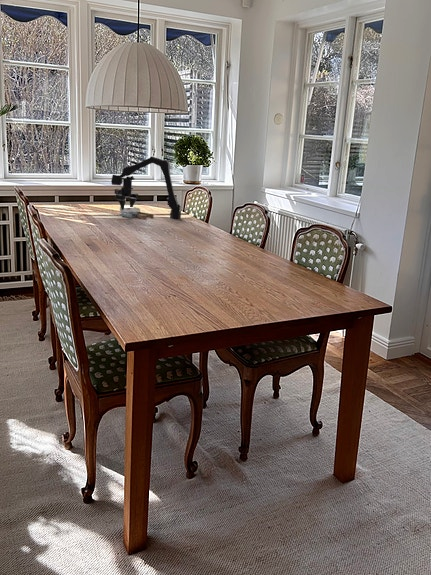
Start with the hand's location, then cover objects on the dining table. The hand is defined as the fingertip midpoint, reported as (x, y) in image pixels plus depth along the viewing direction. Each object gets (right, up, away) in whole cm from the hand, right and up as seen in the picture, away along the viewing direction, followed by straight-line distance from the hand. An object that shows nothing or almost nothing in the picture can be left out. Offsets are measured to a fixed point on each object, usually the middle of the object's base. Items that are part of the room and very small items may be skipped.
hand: (126, 209), depth 356 cm
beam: (+7, -5, -2) cm, 9 cm away
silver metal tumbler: (+2, -4, 0) cm, 4 cm away
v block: (+3, -7, -8) cm, 11 cm away
